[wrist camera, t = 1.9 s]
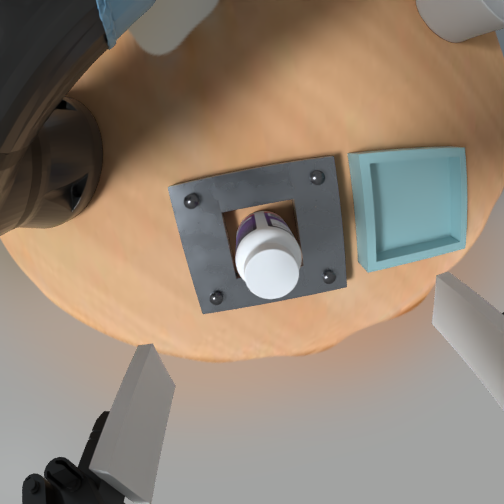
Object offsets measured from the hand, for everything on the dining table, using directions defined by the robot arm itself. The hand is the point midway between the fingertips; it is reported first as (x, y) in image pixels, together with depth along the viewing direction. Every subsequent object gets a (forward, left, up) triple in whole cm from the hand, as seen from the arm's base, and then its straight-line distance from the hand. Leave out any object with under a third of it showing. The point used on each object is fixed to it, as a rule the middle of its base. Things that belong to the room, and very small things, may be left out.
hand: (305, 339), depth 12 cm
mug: (+27, +26, -19) cm, 42 cm away
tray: (+16, 0, -19) cm, 25 cm away
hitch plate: (-1, -1, -19) cm, 19 cm away
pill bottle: (-1, -1, -19) cm, 19 cm away
